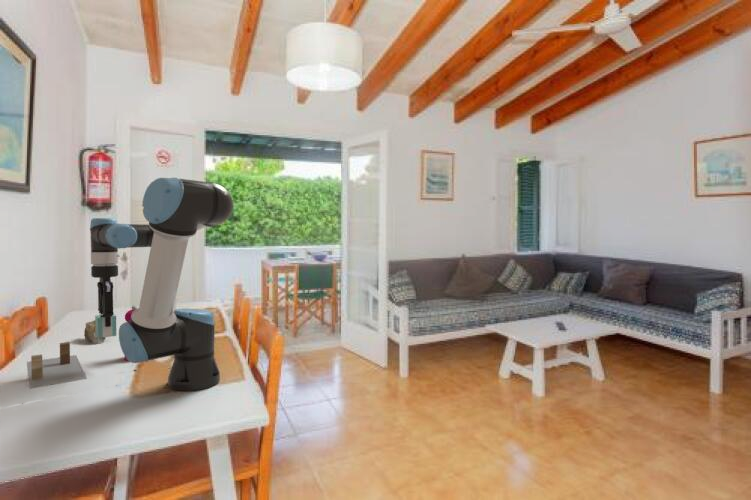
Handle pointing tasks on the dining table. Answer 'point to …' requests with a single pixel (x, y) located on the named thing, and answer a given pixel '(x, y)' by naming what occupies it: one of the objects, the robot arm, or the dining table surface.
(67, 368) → the stand
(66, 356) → the post walnut
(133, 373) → the dining table surface
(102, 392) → the dining table surface
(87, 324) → the rock
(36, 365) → the post beech
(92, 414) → the dining table surface
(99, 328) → the mint green foam cube
